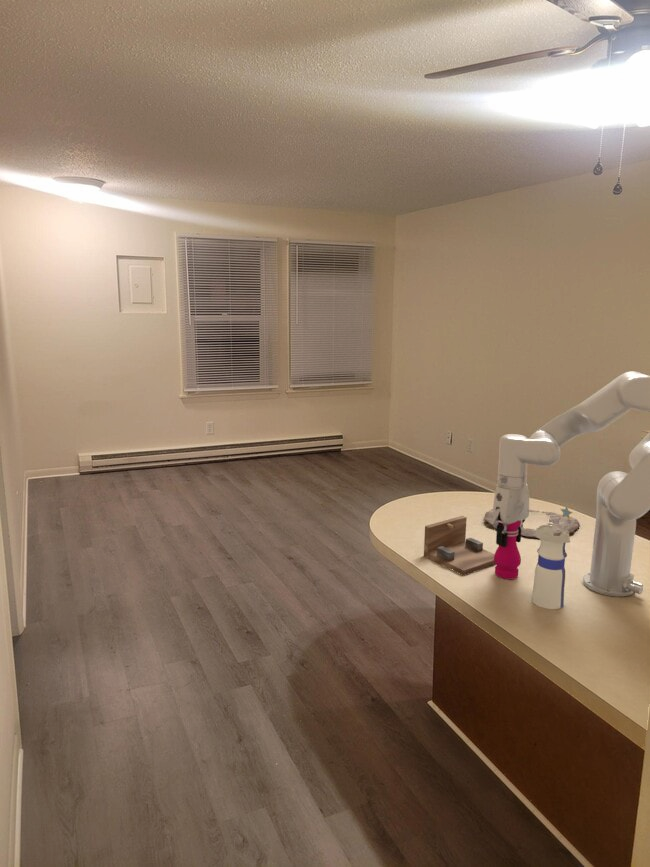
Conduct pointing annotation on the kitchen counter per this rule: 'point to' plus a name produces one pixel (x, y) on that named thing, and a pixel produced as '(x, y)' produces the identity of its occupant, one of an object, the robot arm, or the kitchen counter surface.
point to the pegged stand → (455, 547)
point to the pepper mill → (508, 554)
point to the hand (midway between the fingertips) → (508, 542)
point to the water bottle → (550, 567)
